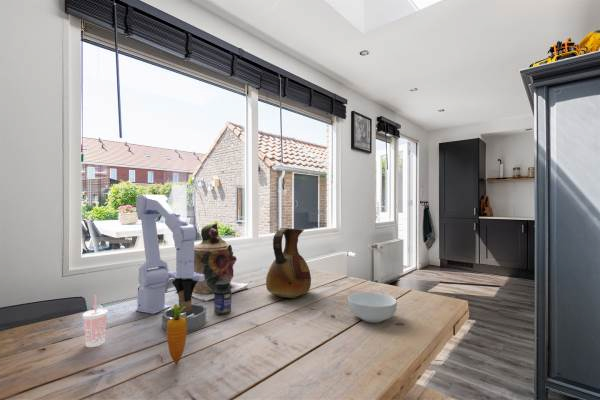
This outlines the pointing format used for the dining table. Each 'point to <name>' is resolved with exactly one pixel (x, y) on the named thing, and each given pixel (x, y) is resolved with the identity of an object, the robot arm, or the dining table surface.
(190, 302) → the tan wooden plank
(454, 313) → the dining table surface
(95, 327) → the beverage cup
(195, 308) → the grey ashtray
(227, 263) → the cookie jar
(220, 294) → the pill bottle
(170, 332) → the carrot
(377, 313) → the cereal bowl
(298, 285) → the ceramic pitcher
